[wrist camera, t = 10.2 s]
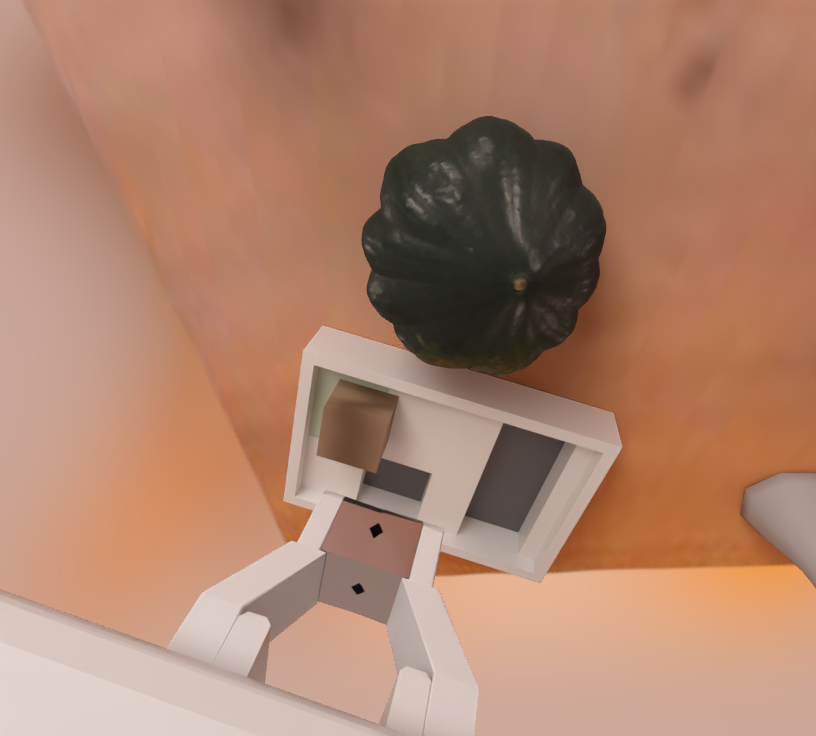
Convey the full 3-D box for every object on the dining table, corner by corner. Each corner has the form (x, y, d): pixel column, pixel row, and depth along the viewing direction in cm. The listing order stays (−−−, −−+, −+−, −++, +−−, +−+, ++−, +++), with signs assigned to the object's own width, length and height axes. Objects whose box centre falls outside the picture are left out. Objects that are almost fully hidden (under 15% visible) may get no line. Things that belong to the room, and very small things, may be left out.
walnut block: (398, 396, 41) (387, 425, 38) (387, 442, 44) (375, 473, 41) (340, 378, 42) (323, 406, 38) (332, 425, 44) (316, 455, 41)
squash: (323, 328, 37) (437, 453, 26) (331, 93, 29) (496, 130, 18) (478, 307, 44) (620, 398, 33) (517, 113, 36) (715, 148, 25)
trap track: (613, 412, 42) (622, 447, 38) (539, 544, 51) (540, 583, 47) (322, 325, 43) (303, 350, 39) (301, 469, 52) (283, 500, 48)
